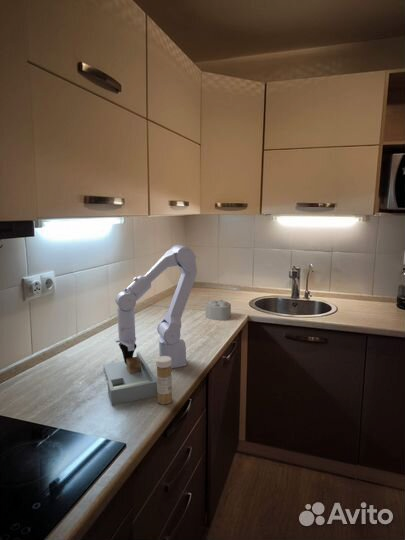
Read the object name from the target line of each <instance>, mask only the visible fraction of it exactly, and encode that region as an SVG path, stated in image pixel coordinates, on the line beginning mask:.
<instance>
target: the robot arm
mask: <svg viewBox="0 0 405 540" xmlns="http://www.w3.org/2000/svg"><path fill="white" fill-rule="evenodd" d="M196 259H197V256H196V254H195V252H194V250H192V248H190V247H189V246H184V245H182V244H175V245H173V246H172V247H171V248H170V249H168V250H167V251H166V252H165V253H164V254H163V255H162V257H160V258H159V259H158V260H157V262H155V264H154V265H152V267H151V268H150V269H149V270H148V271H147V272H146V274H145V275H138V276H135V277H134V278H133V279H132V280H133V281H132V282H131V283H130V284H129V285H128V286H127V287H124V288H123V291H120V292H119V293H117V295H116V297H115V299H114V300H115V303H116V306H117V305H118V306H117V327H118V328H117V329H118V330H117V331H118V338H115V339H114V340H115V343H116V344H117V343H118V347H119V349H120V350H121V353H122V357H123V361H125V364H127V363H126V359H127V358H132V357H134V353H135V350H136V348H137V344H136V341H137V336H136V325H135V324H136V320H135V319H136V318H135V307H136V305H137V301H139V300H140V299H141V298H142V297H143V296H144V295H145V294H146V293H147V292H148V291H149V290H150V289H151V288H152V282H153V281H154V280H155V279H156V278H158V277H159V276H160V275H161V274H163V273H164V272H165V270H167V268H172V267H178V269H179V271H180V272H181V274H180V277H179V280H178V283H177V286H176V289H175V290H174V293H173V296H172V299H171V302H170V305H169V307H168V308H169V309H168V311H167V313H166V314H165V315H164V316H163V318H162V320H161V321H160V322H159V323H158V325H157V327H156V328H157V330H156V331H157V333H158V334H159V336H160V337H159V338H158V349H159V350H158V351H159V354H158V357H160V356H169V357H171V359H172V366H171V369H176V368H180V367H186V366H187V347H186V346H187V345H186V342H185V340H184V339H183V338H181V335H182V334H181V329H182V317H183V314H184V311H185V309H186V305H187V303H188V300H189V297H190V294H191V291H192V289H193V287H194V283H195V281H196V277H197V275H198V269H197V262H196Z"/></svg>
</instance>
